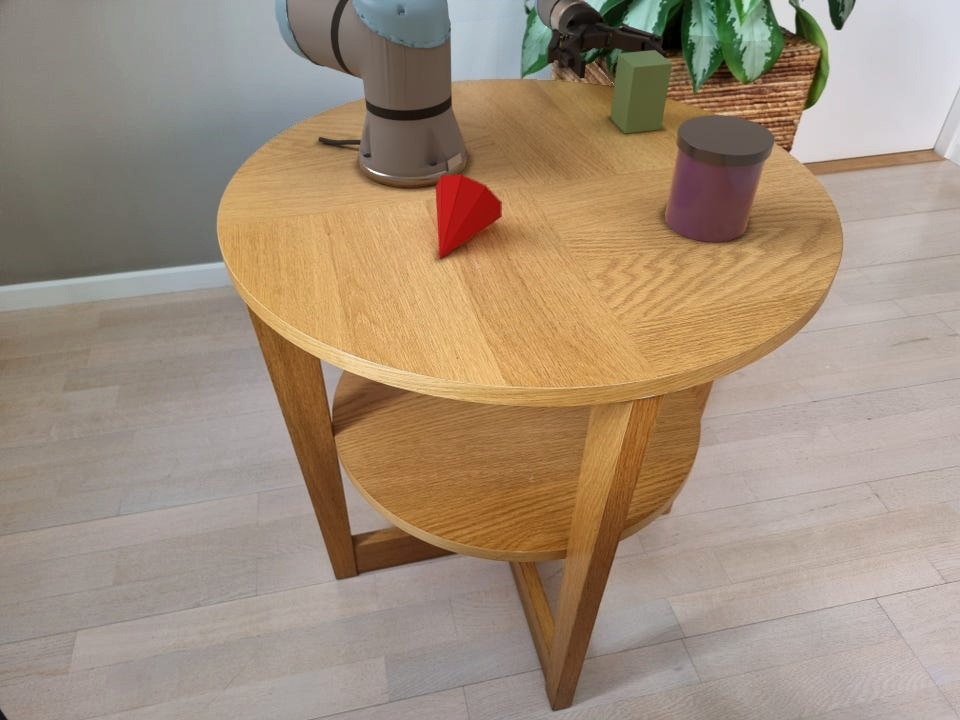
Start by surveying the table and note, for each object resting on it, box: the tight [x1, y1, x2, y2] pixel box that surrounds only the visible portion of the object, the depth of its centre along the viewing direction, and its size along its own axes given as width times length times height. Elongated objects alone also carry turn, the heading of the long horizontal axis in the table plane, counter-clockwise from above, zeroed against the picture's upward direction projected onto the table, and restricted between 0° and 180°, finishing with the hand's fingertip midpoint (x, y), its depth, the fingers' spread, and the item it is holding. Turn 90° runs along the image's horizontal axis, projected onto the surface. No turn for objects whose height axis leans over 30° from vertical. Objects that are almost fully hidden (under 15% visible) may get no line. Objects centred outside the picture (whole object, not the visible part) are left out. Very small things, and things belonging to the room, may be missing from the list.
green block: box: [610, 50, 673, 135], centre depth 106 cm, size 6×6×10 cm
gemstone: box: [435, 173, 503, 260], centre depth 84 cm, size 9×9×10 cm
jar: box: [664, 114, 776, 243], centre depth 84 cm, size 11×11×11 cm
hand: (623, 65), depth 111 cm, fingers open, 13 cm apart
